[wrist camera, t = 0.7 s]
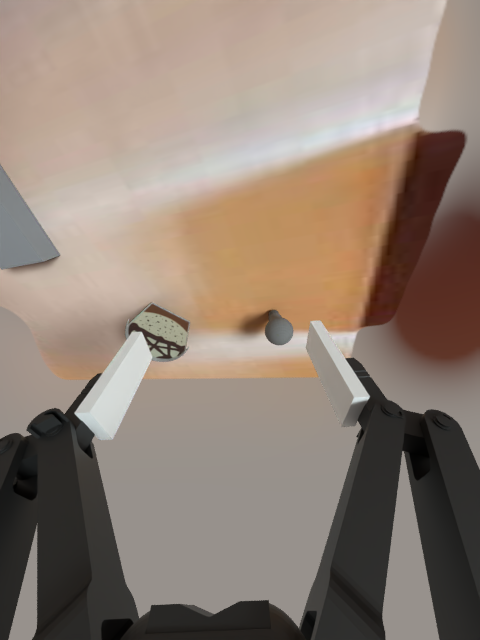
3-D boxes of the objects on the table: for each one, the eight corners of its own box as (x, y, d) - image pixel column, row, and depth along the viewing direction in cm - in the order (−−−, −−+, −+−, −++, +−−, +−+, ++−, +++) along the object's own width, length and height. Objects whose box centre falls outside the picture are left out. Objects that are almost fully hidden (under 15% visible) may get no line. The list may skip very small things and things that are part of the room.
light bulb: (287, 318, 46) (299, 345, 38) (265, 325, 47) (271, 354, 39) (281, 298, 43) (292, 324, 35) (257, 306, 44) (263, 333, 36)
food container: (135, 318, 45) (113, 347, 37) (145, 298, 43) (123, 324, 34) (184, 341, 49) (174, 371, 41) (195, 324, 47) (187, 353, 38)
